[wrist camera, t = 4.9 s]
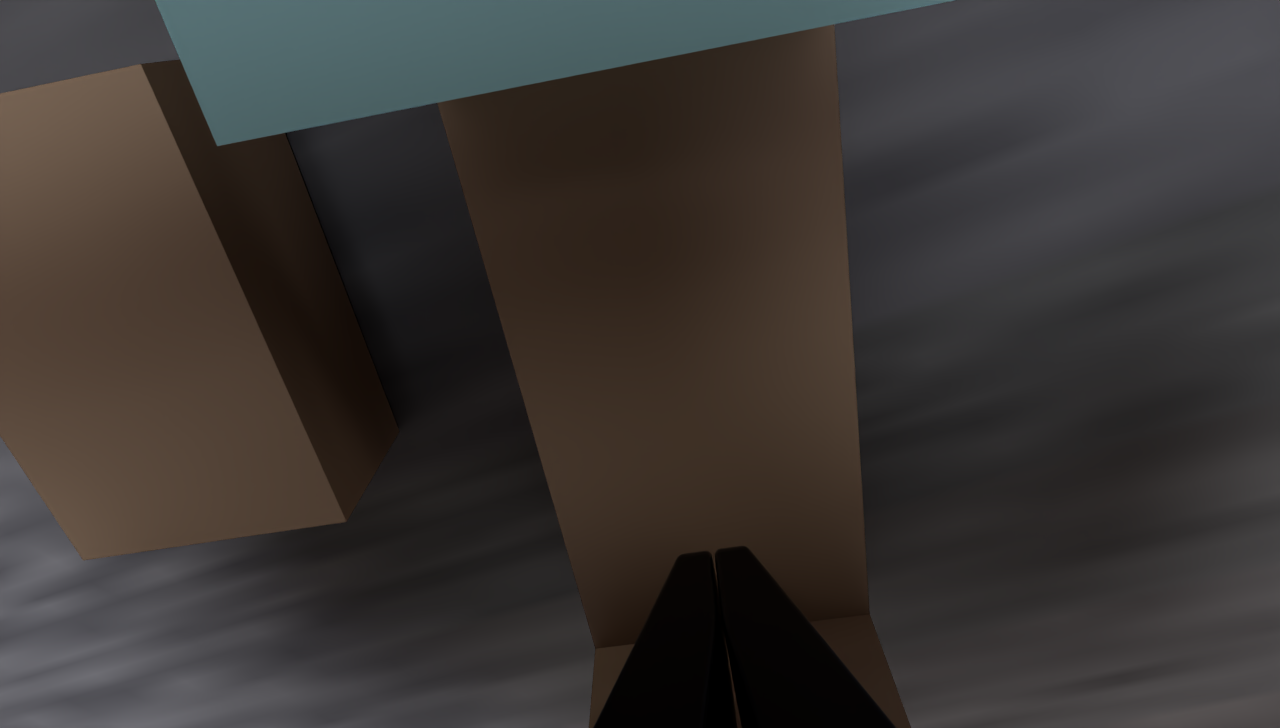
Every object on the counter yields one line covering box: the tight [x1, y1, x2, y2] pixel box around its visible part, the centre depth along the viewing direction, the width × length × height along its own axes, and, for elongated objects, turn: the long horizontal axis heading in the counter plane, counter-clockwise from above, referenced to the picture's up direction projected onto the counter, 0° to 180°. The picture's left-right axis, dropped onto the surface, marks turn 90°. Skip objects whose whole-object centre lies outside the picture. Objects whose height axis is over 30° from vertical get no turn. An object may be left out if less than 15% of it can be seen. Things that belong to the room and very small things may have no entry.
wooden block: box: [437, 24, 911, 728], centre depth 7 cm, size 16×4×6 cm, turn 10°
